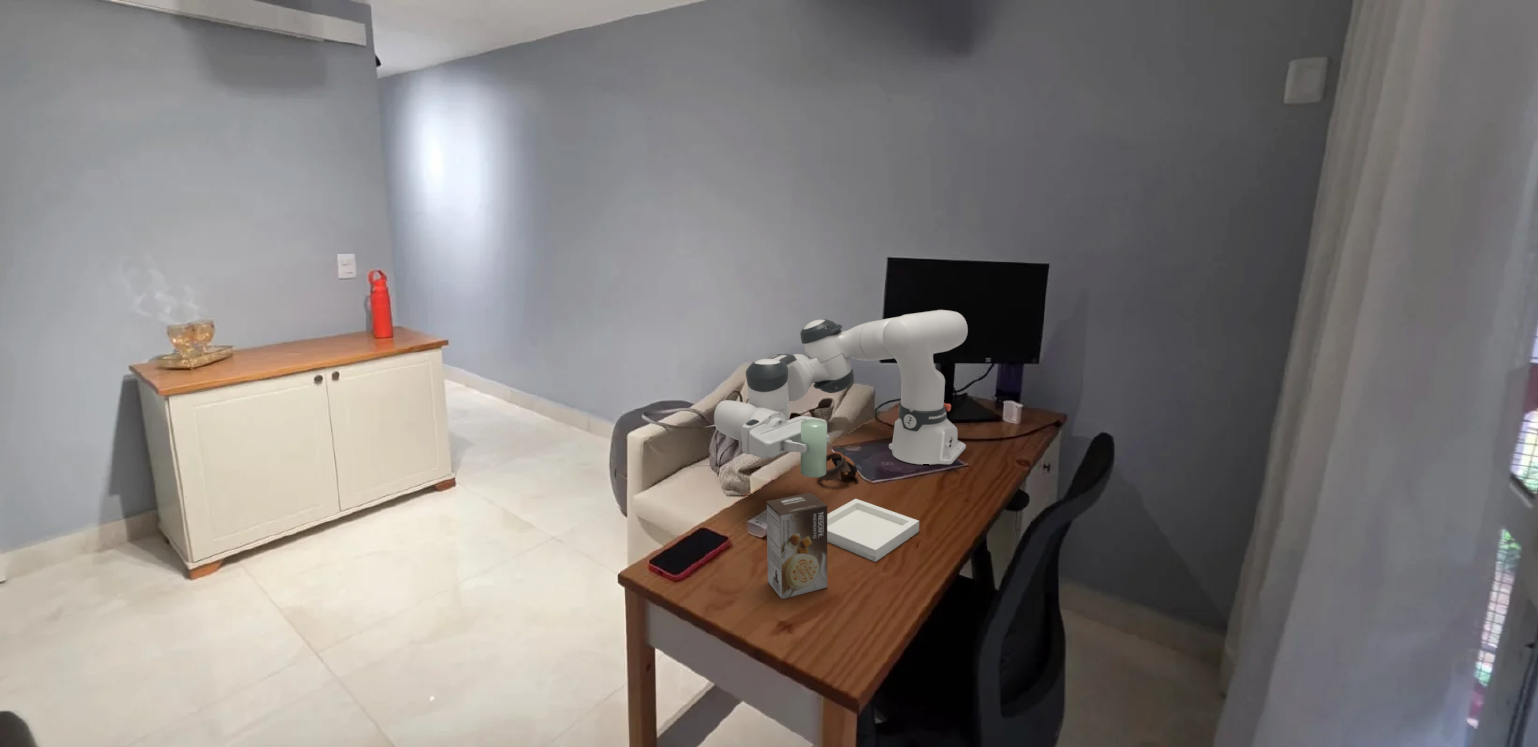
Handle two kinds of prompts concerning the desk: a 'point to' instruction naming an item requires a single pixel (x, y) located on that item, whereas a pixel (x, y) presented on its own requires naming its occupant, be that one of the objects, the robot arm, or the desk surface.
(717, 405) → the robot arm
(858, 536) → the tray
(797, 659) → the desk surface
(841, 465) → the pottery mug
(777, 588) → the coffee box
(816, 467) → the green cylinder
